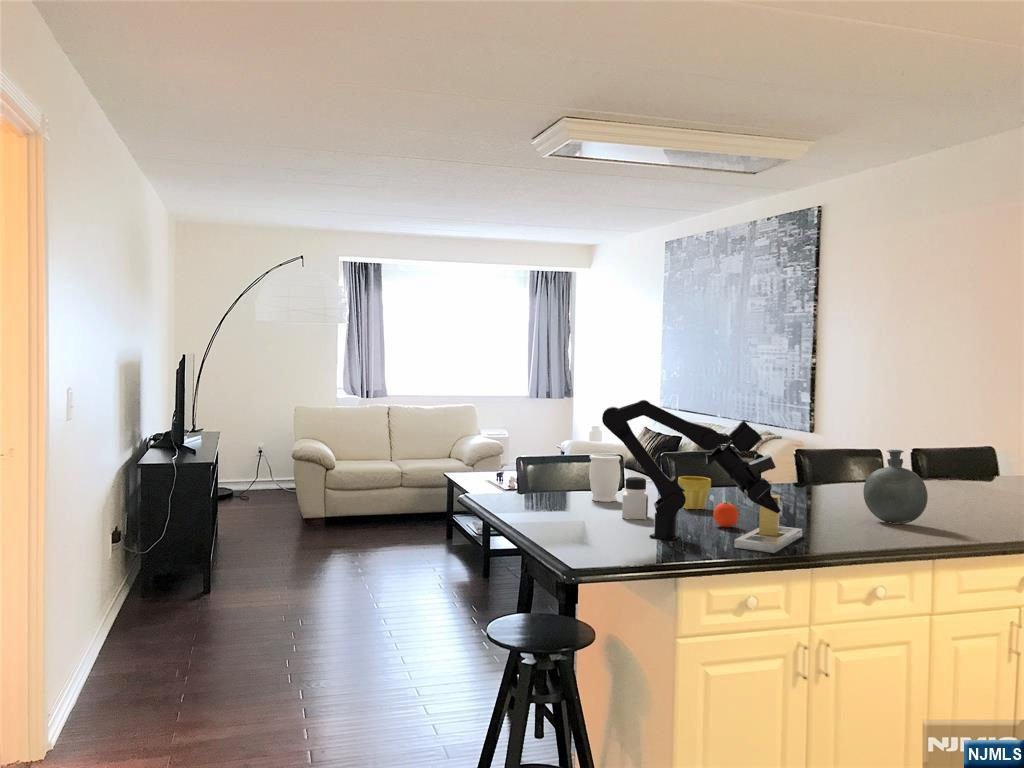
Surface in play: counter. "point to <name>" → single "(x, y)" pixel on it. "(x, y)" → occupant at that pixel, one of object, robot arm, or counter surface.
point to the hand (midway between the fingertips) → (775, 509)
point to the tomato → (725, 514)
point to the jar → (604, 477)
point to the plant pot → (695, 491)
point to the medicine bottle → (635, 499)
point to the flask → (895, 492)
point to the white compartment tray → (768, 540)
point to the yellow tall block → (769, 520)
